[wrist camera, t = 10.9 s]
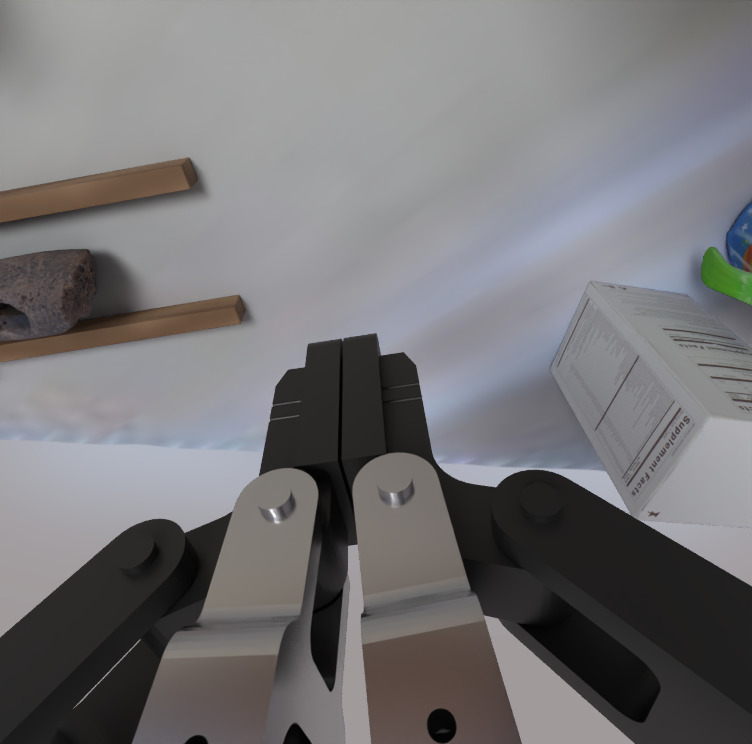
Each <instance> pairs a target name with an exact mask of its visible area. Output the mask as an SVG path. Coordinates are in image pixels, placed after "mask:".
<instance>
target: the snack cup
mask: <svg viewBox="0 0 752 744" xmlns="http://www.w3.org/2000/svg"><path fill="white" fill-rule="evenodd" d="M727 244H728V252H729V257H730V260H731V262H732V264H733V265H734V266H735V267H733V266H731V265H730V264H728V263H727V262H726V261H725V259H724V258H723V256H722V255H721V254H720V252H719V251H718V250H717V249H716V248H714V247H710V248H708V249H707V251H706V252H705V254H704V256H703V262H702V266H701V278H702V281H703V283H704V284H705V285H706V286H707V287H708V288H711V289H713V290H715V291H718V292H721V293H723V294H726V295H728V296H731V297H733V298H735V299H738V300H740V301H743V302H745V303H747V304H750V305H752V202H751V203H750V204H749V205H748V206H747V207H746V208H745V209H744V211H743V212H742V213H741V215H740V216H739V218H738V219H737V221H736V222H735V224H734V226H733V227H732V229H731V230H730V232H728V234H727Z"/></svg>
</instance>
